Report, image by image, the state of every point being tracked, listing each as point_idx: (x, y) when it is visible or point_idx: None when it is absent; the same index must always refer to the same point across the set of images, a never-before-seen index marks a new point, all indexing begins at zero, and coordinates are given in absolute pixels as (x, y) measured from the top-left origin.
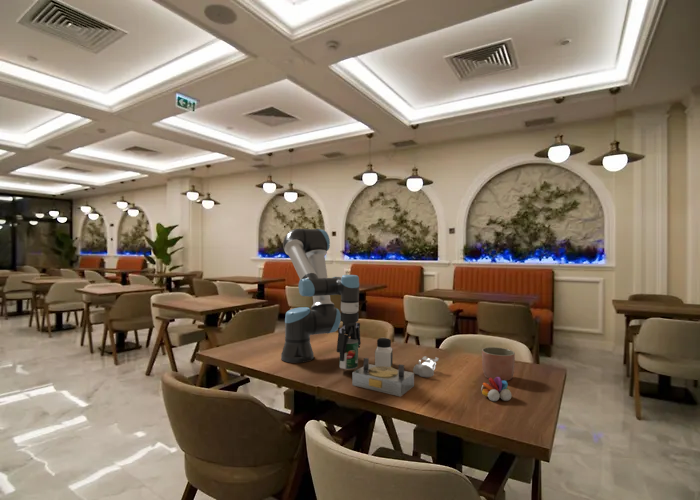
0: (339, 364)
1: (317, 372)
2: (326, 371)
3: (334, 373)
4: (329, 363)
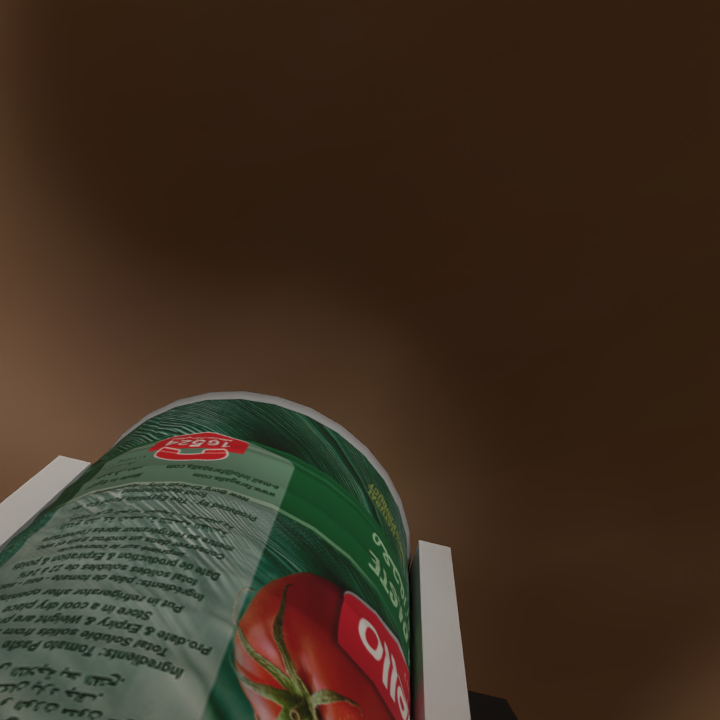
0: (169, 412)
1: (6, 26)
2: (126, 164)
3: (101, 328)
4: (581, 14)
